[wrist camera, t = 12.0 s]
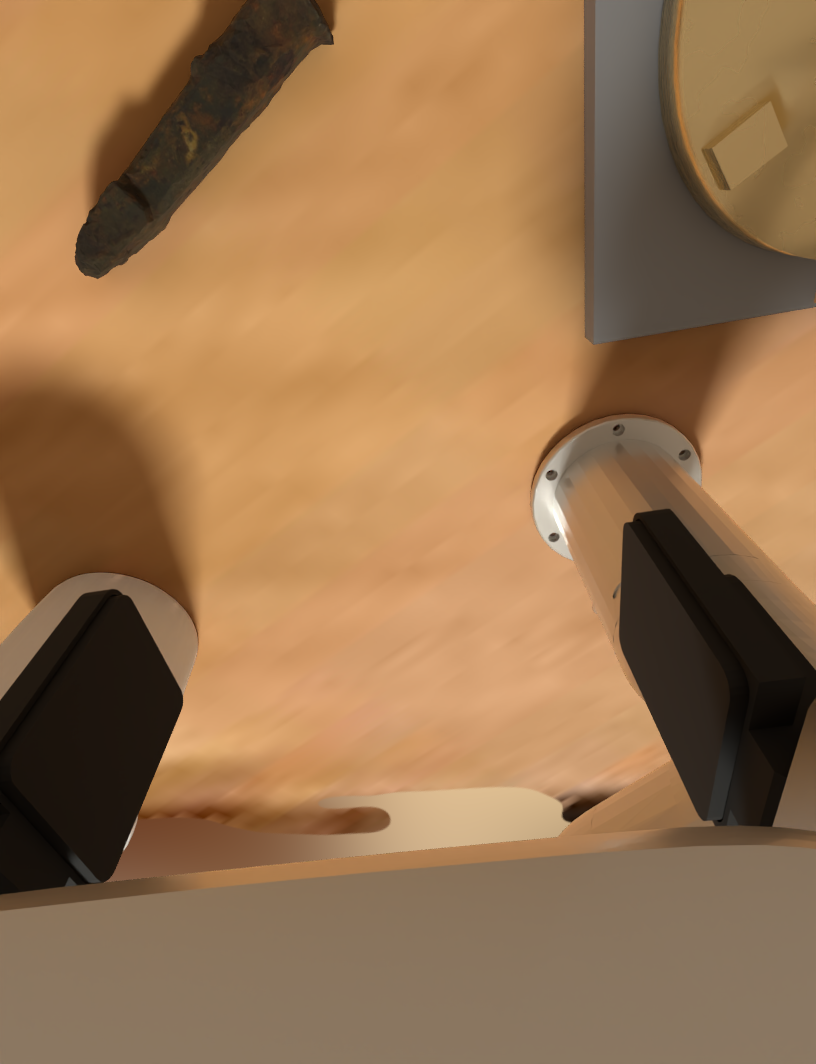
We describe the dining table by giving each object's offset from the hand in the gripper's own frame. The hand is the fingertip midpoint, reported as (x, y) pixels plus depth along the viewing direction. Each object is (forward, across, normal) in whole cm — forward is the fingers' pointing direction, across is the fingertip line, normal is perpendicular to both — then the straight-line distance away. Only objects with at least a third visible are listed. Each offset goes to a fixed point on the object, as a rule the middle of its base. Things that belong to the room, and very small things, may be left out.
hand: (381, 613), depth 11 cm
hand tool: (+31, +9, -10) cm, 34 cm away
